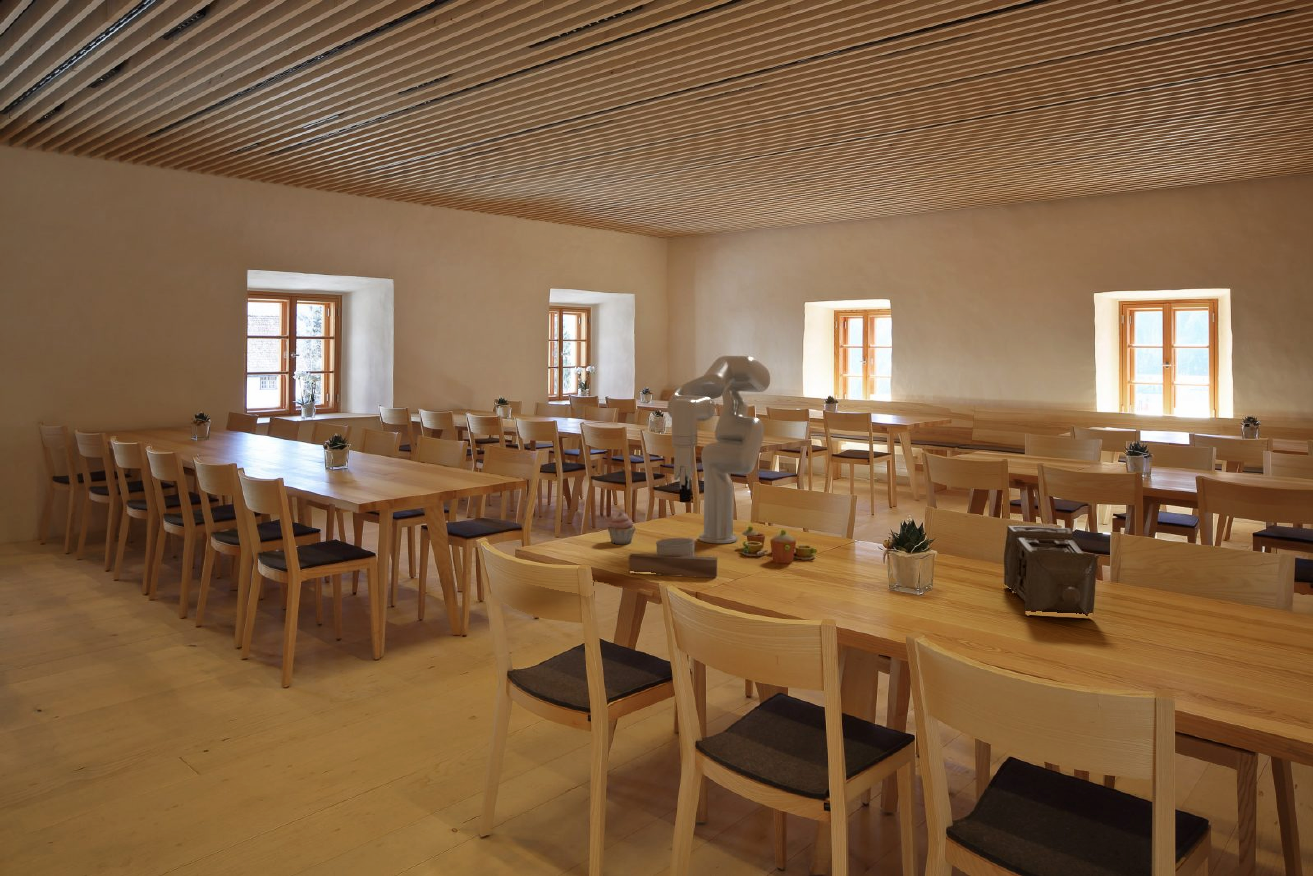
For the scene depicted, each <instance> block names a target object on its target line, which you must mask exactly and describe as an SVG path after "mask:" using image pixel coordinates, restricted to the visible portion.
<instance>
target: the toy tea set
mask: <svg viewBox="0 0 1313 876" xmlns="http://www.w3.org/2000/svg"><path fill="white" fill-rule="evenodd" d="M753 529H754V528H753V526H752V525H748V528H747V529H746V530H745V531H742V536H746V541H743V543H742V545H743V551H742V554H743V555H744V556H746V557H752V556H757V557H762V556H764V555H765V554H766V553H767V552H768V549H766V548H765V549H764V545H765V538H766V534H764V533H760V532H758V531H756V530H753ZM769 541H770V542H769V543H770V549H771V557H772V561H773V563H776V564H782V563H787V564H791V563H793V561H794V559H796V560H799V559H801V560H800V561H809V560H813V559H815V558H816V555H815V554H817V552H818V550H817V548H815V547H814V546H813V545H809V544H798V545H796V544H797V540H796V539H795V538H794V537H793V536H792V535H790V534H789V533H787V531H786V530H785V529H782V530H781V531H780V533H778V534H775V535H774V536H773V537H772V538H770V540H769ZM762 548H763V549H762Z"/></svg>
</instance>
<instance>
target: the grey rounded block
mask: <svg viewBox="0 0 1313 876" xmlns="http://www.w3.org/2000/svg"><path fill="white" fill-rule="evenodd" d="M655 544H656V555H676V556H695V547H696V542H695V539H694V538H693V537H687V538H686V537H671V538H664V539H660V540H657V541H656V542H655Z"/></svg>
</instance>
